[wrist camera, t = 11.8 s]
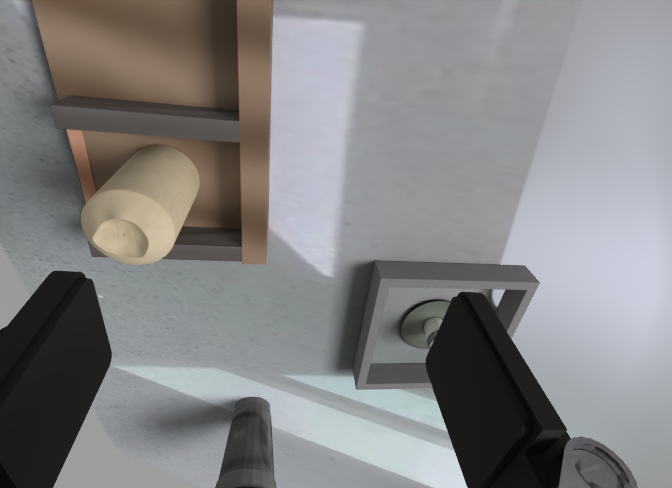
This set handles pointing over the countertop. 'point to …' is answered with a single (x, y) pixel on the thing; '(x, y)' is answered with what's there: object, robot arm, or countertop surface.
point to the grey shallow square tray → (433, 276)
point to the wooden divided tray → (171, 104)
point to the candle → (142, 206)
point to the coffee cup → (424, 323)
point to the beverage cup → (249, 447)
